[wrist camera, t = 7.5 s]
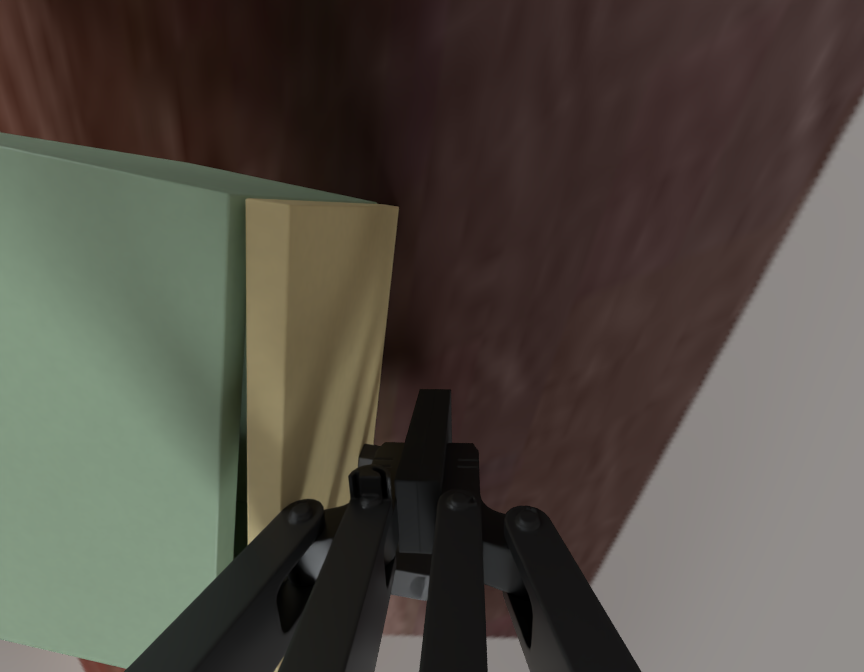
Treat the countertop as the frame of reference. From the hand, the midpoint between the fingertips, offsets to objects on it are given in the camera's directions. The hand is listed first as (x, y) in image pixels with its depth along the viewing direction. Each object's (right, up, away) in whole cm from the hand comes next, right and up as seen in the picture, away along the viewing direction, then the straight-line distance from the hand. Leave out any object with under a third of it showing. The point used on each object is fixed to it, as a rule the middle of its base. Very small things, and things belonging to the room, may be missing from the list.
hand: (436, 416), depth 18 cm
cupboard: (-10, +5, +7) cm, 13 cm away
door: (-1, +3, +6) cm, 7 cm away
